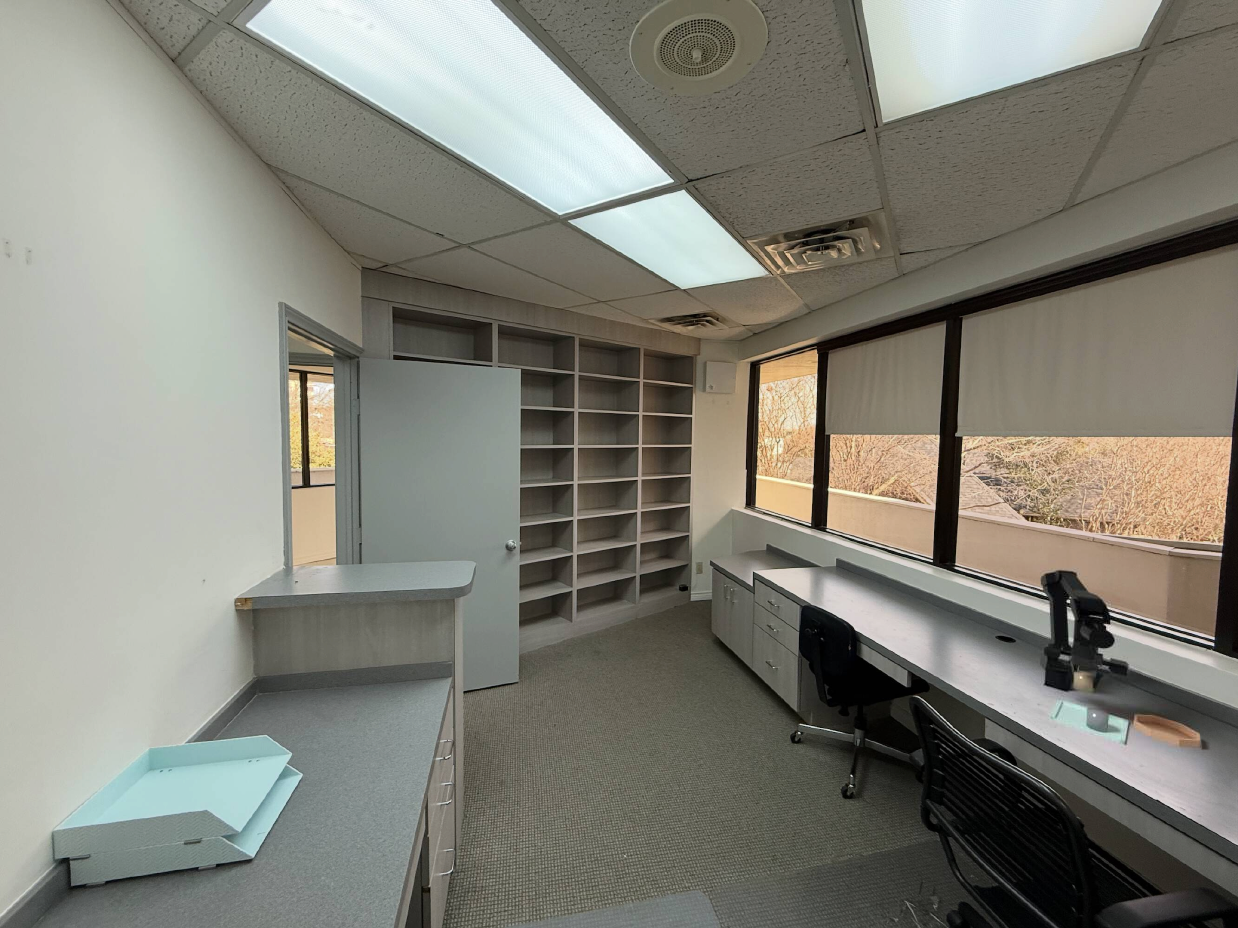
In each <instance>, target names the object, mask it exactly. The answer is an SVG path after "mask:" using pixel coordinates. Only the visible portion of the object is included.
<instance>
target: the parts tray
mask: <svg viewBox="0 0 1238 928" xmlns="http://www.w3.org/2000/svg"><path fill="white" fill-rule="evenodd" d="M1087 708H1088V707H1087V706H1083V705H1079V704H1077V703H1074V702H1070V701H1066V700H1064V699H1060V698H1058V699H1057V701H1056V703H1055V705H1054V708H1053V710H1052V712H1051V714H1050V716H1049V720H1050V721H1052V722H1056V723H1059V724H1061V725H1064V726H1068V727H1071V728H1074V729H1076V730H1079V731H1083V732H1085V733H1089V734H1091V735H1094V736H1098V737H1101V738H1104V739H1107V740H1110V741H1113V742H1116V743H1119V744H1122V745H1125V744H1126V739H1127V735H1128V734H1127V733H1128V728H1129V721H1130V720H1128V719H1125V718H1122V717H1119V716H1116V715H1113V714H1109V713H1108V714H1109V720H1108V732H1106V733H1103V732H1098V731H1095V730H1092V729H1090V728H1089V727H1087V726H1086V720H1087Z"/></svg>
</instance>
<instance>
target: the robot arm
mask: <svg viewBox="0 0 1238 928" xmlns="http://www.w3.org/2000/svg"><path fill="white" fill-rule="evenodd" d="M1040 584H1041V585H1040V586H1042V591H1043V593H1044V594H1045V595H1046V597H1047V598H1048V600H1049V618H1050V619H1049V623H1050V624H1049V625H1050V642H1048V643H1046V645H1045V646H1044V650H1043V654H1042V655H1041V657H1040V658H1039V660H1040V661H1039V662H1040V666H1041V667H1042V668H1043V669H1044V670H1045V671H1044V682H1043V686H1046V687H1048V688H1052V689H1055V690H1059V691H1062V692H1066V693H1069V692H1070V691H1072V689H1073V680H1074V671H1075V670H1078V666H1079V667H1080V666H1081V667H1085V668H1087V669H1093V668H1094V667H1095V666H1097V669H1096V674H1095V676H1094V684H1093V689H1094V690H1096V688H1097V686H1098V685H1099V683H1100V681H1101V679H1102V678H1103V677H1104V676H1106V675H1111V674H1115V675H1121V676H1124V677H1128V675H1129V666H1130V664H1129V663H1128V662H1127V661H1125V660H1121V659H1116V658H1112V657H1111V658H1110V659H1109V660H1106V659H1104V654H1103V653H1100V652H1099V649H1105V650H1106V649H1110V648H1111V647H1113V646H1114V644H1115V641H1116V639H1115V637H1114V635H1113V633H1111V632H1110V631H1109V630H1107V625H1109V626H1110V625H1111V620H1112V616H1111V614H1110V611H1109V609H1108V606H1107V604H1106V603H1105V601H1104V600H1103V599H1102V598H1101V597H1100V596H1098V594H1095V593H1092V592H1090V591H1089V590H1088V589H1087V588H1086V587H1085V585H1084V584H1083V583H1082V581H1081V580H1080V579H1079V578H1078V573H1077V572H1075V571H1073V570H1064V569H1063V570H1062V569H1058V570H1055V571H1054V572H1053V571H1052V572H1047V573H1044V574H1043V575H1042V576H1041V577H1040ZM1069 598H1070V600H1069ZM1068 600H1069V606H1070V610H1071V612H1072V615H1073V618H1074V621H1073V622H1074V624H1073V636H1072V638H1073V646H1072V647H1071V646H1070V645H1069V637H1070V636H1069V621H1068V619H1069V617H1068V603H1067V602H1068ZM1094 665H1095V666H1094Z"/></svg>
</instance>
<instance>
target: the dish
mask: <svg viewBox="0 0 1238 928" xmlns="http://www.w3.org/2000/svg"><path fill="white" fill-rule="evenodd" d="M1132 727H1133V728H1135V729H1136V730H1138V731H1139V732H1141V733H1143V734H1145V735H1147V736H1149V737H1150V738H1152V739H1155V740H1158V741H1162V742H1165V743H1168V744H1171V745H1174V746H1178V747H1185V748H1186V747H1187V748H1201V747H1200V745H1201V734H1200V733H1199V732H1197V731H1196V730H1194V729H1192V728H1190V727H1188V726H1186V725H1184V724H1182V723H1180V722H1177V721H1174V720H1172V719H1171V720H1170V719H1168V718H1163V717H1160V716H1156V715H1155V714H1137V713H1134V718H1133V726H1132Z"/></svg>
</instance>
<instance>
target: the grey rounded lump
mask: <svg viewBox="0 0 1238 928" xmlns="http://www.w3.org/2000/svg"><path fill="white" fill-rule="evenodd" d="M1108 720H1109V713H1108V712H1107V711H1105V710H1102V709H1099V708H1097V707H1087V720H1086V726H1087V727H1089V728H1090V729H1092V730H1095V731H1098V732H1103V733H1106V732H1108Z"/></svg>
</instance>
